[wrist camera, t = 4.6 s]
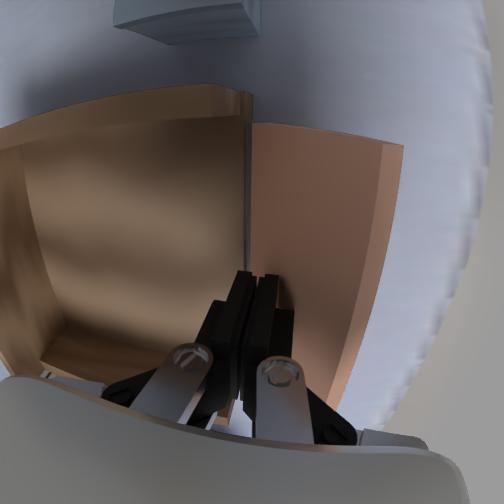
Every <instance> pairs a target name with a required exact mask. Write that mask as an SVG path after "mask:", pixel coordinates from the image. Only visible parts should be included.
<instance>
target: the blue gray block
mask: <svg viewBox="0 0 504 504" xmlns="http://www.w3.org/2000/svg"><path fill="white" fill-rule="evenodd" d="M260 14H261V0H115V6H114V17H113V27H116V28H120V29H123V28H125V29H128V30H131V31H134V32H137V33H139V34H142V35H145V36H148V37H150V38H153V39H156V40H158V41H161V42H163V43H166V44H168V45H169V44H175V43H182V42H190V41H198V40H207V39H218V38H231V37H256V36H260Z"/></svg>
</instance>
